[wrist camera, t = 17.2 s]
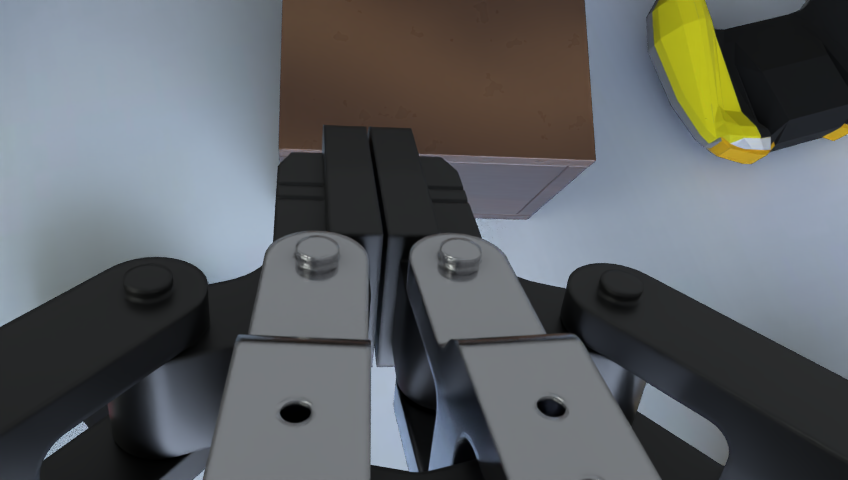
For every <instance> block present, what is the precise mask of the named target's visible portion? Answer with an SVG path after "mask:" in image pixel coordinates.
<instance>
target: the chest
mask: <svg viewBox="0 0 848 480" xmlns="http://www.w3.org/2000/svg"><path fill="white" fill-rule="evenodd" d="M286 157H287V156H280V155H279V162H280V163H281V162H282V161H283V160H284V159H285V158H286ZM448 163H449V164H450V165H451V166H452V167H453V168H455V169H456V170H457V171H458V173H459V176H460V179H461V182H462V185H463V190H465V193H466V196H467V198H468V203H469V204H470V207H471V210H472V212H473V215H474V218H488V219H529V218H530V217H531V216H532V215H533V214H534V213H535V212H537V211H538V210H539V209H540V208H541V207H542V206H544V205H545V204H546V203H547V202H548V201H549V200H550V199H552V198H553V197H554V196H555V195H556V194H557V193H559V192H560V191H561V190H562V189H563V188H564V187H566V186H567V185H568V184H569V183H570V182H571V181H572V180H574V179H575V178H576V177H577V176H578V175H579V174H581V173H582V172H583V171H584V170H585V169H586V168H588V167H585V166H556V165H528V164H500V163H472V162H448Z"/></svg>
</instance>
